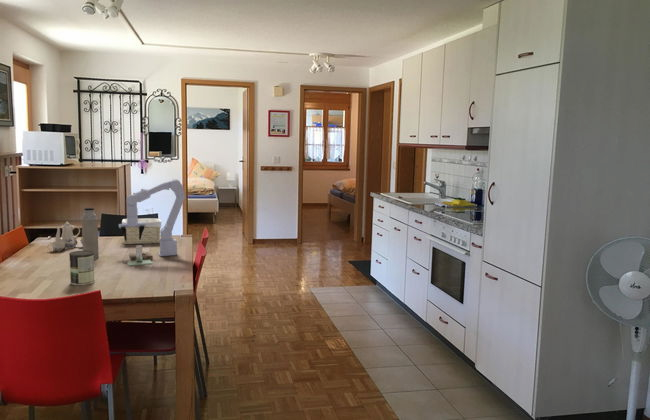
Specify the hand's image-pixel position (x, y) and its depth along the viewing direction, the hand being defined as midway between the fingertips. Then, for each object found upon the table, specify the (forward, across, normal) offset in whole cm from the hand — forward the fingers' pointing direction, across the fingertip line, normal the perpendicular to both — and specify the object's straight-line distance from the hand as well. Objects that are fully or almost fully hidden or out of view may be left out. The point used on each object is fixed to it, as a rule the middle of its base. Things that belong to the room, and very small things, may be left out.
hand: (132, 239), depth 303 cm
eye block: (+10, -3, +9) cm, 14 cm away
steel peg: (+9, -1, +20) cm, 21 cm away
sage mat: (+10, -1, +20) cm, 22 cm away
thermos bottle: (+10, +22, -3) cm, 24 cm away
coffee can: (+10, +28, +51) cm, 59 cm away
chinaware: (+10, +32, -37) cm, 50 cm away
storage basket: (+10, -11, -42) cm, 44 cm away
